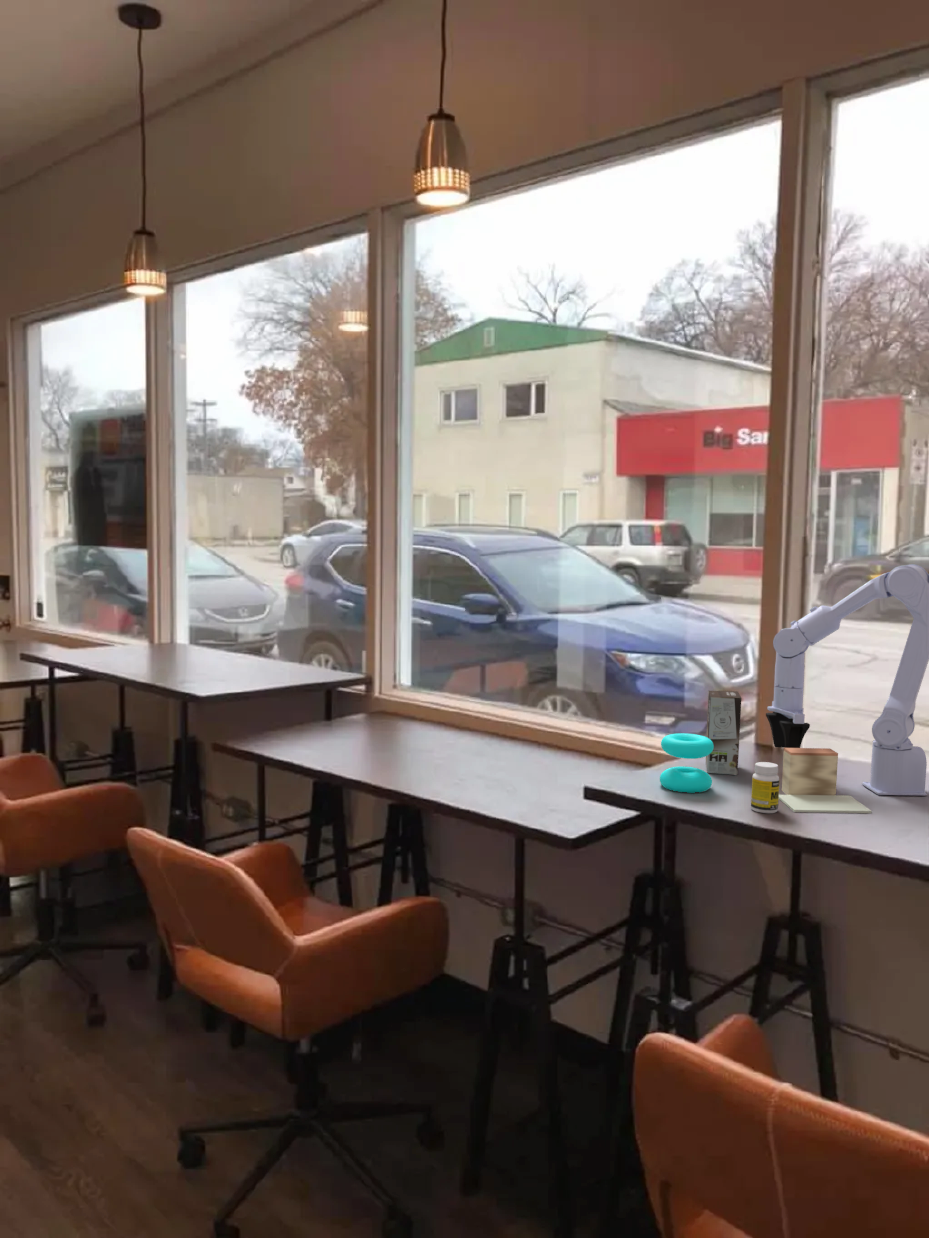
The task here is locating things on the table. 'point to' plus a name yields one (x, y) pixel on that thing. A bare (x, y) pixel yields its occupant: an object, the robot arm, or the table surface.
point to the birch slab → (809, 771)
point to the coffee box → (723, 731)
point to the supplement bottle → (765, 788)
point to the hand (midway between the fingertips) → (785, 751)
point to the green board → (823, 803)
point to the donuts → (681, 775)
